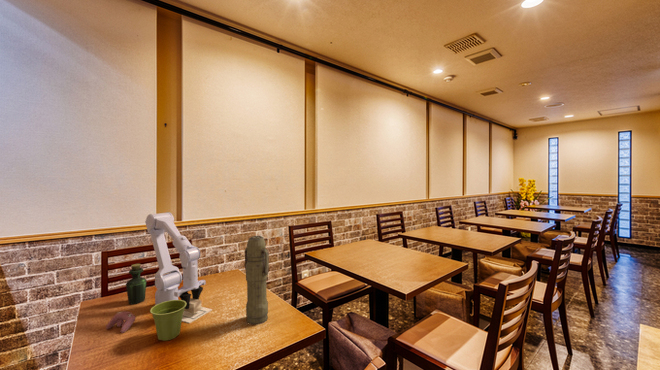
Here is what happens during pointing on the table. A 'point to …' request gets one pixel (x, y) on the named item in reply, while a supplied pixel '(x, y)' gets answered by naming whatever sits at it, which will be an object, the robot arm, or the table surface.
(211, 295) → the table surface
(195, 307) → the tall beige pillar block
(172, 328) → the plant pot
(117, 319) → the video game controller
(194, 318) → the mat
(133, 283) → the potion bottle
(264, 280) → the thermos
